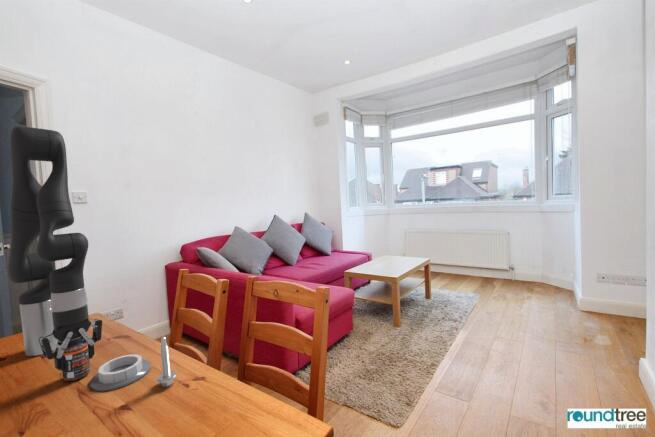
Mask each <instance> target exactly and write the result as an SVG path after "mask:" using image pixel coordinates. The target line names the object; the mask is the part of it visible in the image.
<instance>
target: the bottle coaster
mask: <svg viewBox="0 0 655 437" xmlns="http://www.w3.org/2000/svg"><path fill="white" fill-rule="evenodd" d="M151 368H152V366H151V362H150V361H149V360H147V359H143V357H142V355H139V354H126V355H121V356H117V357H114V358H112V359H111V360H108V361H106V362H104V364H102V365H101V366H99V368H98V372H97V373H95V374H94V375H93V376H92V378H91V379H90V381H89V386H90V388H91V389H92V390H94V391H95V392H96V391H97V392H108V391H115V390H117V389H118V390H119V389H121V388H124V387H127V386H130V385H133V384H134V383H136V382H138V381H140V380H141V379H143V378H144V377H145V376H146V375H148V374H149V372H150V370H151Z"/></svg>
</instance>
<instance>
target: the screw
mask: <svg viewBox="0 0 655 437" xmlns="http://www.w3.org/2000/svg"><path fill="white" fill-rule="evenodd" d="M160 340H161V343H160V356H161V357H160V358H161V359H160V361H161V369H162V371H161V372H162V373H160V374H158V376H157V377H156V379H155V381H156V382H157V383H158V384H161V387H163V388H164V387H165V388H166V387H169V386H171V385H173V380H174V379H175V378H176V377H177V376H178V373H177V371H175V370H171V365H170V356H169V355H170V354H169V353H170V352H169V347H168V344H167V338H166V337H165V336H161V338H160Z"/></svg>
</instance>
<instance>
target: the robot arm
mask: <svg viewBox="0 0 655 437" xmlns="http://www.w3.org/2000/svg"><path fill="white" fill-rule="evenodd" d="M9 141H10V158H11V160H10V161H11V171H12V186H11V187H12V188H11V199H10V225H11V226H10V227H11V228H10V229H11V237H10V238H11V240H10V248H9V256H8V264H7V265H8V266H7V272H8V277H9V279H10V281H11V282H12V283H15V284H23V283H29V282H34V281H39V282H38V284H36V285H35V286H33V287H32V288H30V289H28V290H26V291H24V292H22V293H20V294H19V295H18V303H19V305H18V306H19V310H20V312H19V313H20V320H21V329H22V337H23V345H24V354H25V356H27V357H35V356H37V357H38V356H42V355H43V357H44V358H45V359H47V360H52V359H53V360H54V368H55V370H58V371H61V372H62V371H63V370H65V366H64V357H62V355H63V353H64V350H65V349H66V348H67V345H68V343H69V341H70V340H71V339H74V338H77V337H79V336H82V337H83V341H86V342H87V343H88V350H89V360H90V359H93V357H94V356H95V343H97V342H100V341H101V340H102V332H103V331H102V330H103V320H101V319H98V318H94V319H93V320H90V318H89V307H88V298H87V292H86V288H85V280H84V279H85V278H84V268H85V267H84V266H85V262H86V257H87V254H88V251H89V241H88V238H87V237H86V236H85V234H83V233H80V232H70V233H69V232H68V233H60V234H58V233H57V234H54V232H55V231H58V230H61V229H65V228H68V227H70V226H72V225H74V223H75V217H74V211H73V208H72V203H71V198H70V194H69V193H70V192H69V181H68V180H69V177H68V174H69V173H68V162H67V148H66V143H65V140H64V137H63V135H62V134H61V133H60V132H59V131H56V130H52V129H45V128H37V127H36V128H35V127H29V126H21V125H16V126H14V127H13V128H12V129H11V132H10V140H9ZM29 161H36V162H37V161H38V162H39V161H40V162H51V165H52V166H51V167H52V168H51V172H50V174H49V176H48V178H47V179H46V180H45V182H44V183H43V185H41V183H40V182H39V181H38V180H37V179H36V177H35V176H34V174H33V173H32V171H31V170H30V166H29ZM37 238H38V241H37V245H36V252H30V253H29V249H30V248H31V246H32V244H33V243H34V242H35V240H37ZM70 259H71V260H70ZM64 260H70V262H69V263H68V264H67V265H65V266H63V267H59V268H57V267H56V262H57V261H64ZM56 268H57V269H56ZM90 327H91V328H92V337H91V336H90V334H89V333H88V331H89V329H90Z"/></svg>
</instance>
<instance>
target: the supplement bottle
mask: <svg viewBox="0 0 655 437" xmlns="http://www.w3.org/2000/svg"><path fill="white" fill-rule="evenodd" d="M62 357H64V366H65V370H63V371H61V372H62V373H61V374H62V378H63V381H65V382H73V381H78V380H80V379H82V378H84V377H86V376H88V375H89V374H90V372H91V363H90V362H91V361H90V359H89V350H88V343H87V342H86V341H83V337H82V336H79V337H77V338H74V339H71V340H70V341H69V343H68V345H67V348H66V349H65V350H64V353H63V355H62Z"/></svg>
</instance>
